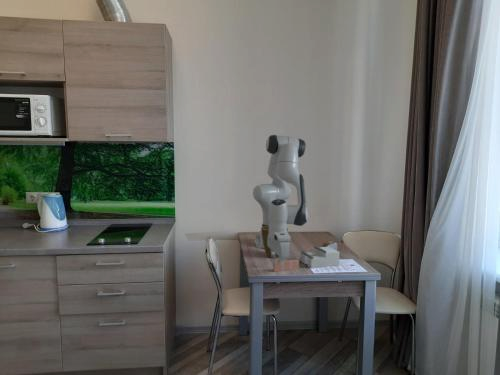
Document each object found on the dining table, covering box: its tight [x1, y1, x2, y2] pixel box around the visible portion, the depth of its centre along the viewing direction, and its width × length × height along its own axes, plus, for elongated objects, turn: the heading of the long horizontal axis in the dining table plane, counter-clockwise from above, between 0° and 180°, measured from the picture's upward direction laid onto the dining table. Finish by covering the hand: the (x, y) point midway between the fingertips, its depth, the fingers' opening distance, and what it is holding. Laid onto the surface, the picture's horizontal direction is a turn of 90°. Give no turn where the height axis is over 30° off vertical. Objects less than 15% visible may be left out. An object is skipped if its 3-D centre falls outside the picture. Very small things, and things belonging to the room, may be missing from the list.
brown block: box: [272, 259, 300, 273], centre depth 165 cm, size 2×13×4 cm, turn 108°
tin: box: [321, 239, 339, 251], centre depth 189 cm, size 15×3×8 cm, turn 137°
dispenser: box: [300, 245, 341, 269], centre depth 175 cm, size 11×16×8 cm
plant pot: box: [260, 226, 289, 259], centre depth 187 cm, size 15×15×16 cm
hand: (276, 261), depth 164 cm, fingers open, 8 cm apart
